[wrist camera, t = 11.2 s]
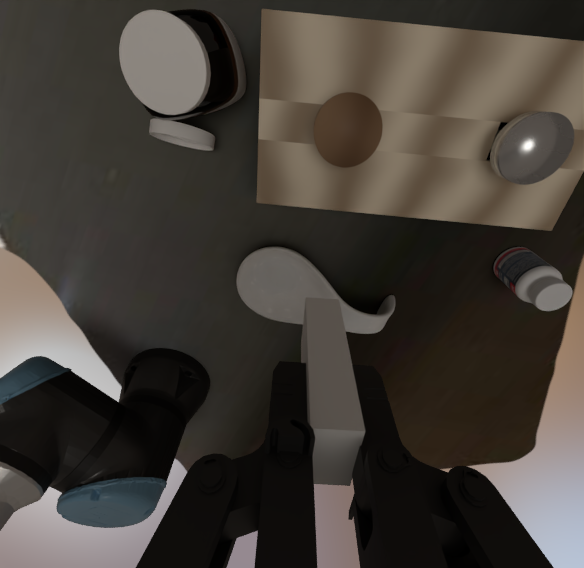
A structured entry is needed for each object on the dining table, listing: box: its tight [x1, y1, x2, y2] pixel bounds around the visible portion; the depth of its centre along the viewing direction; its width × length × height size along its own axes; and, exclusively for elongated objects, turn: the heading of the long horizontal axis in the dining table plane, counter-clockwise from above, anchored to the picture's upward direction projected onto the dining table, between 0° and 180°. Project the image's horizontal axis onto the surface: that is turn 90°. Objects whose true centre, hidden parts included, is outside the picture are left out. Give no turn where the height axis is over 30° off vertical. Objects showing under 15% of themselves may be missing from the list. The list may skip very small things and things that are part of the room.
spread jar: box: [119, 9, 246, 151], centre depth 31 cm, size 12×11×12 cm
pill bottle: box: [493, 247, 572, 311], centre depth 41 cm, size 5×5×9 cm
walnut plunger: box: [313, 92, 383, 168], centre depth 29 cm, size 5×5×14 cm
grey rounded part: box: [490, 111, 574, 185], centre depth 29 cm, size 5×5×14 cm
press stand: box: [257, 9, 584, 231], centre depth 31 cm, size 28×14×12 cm, turn 85°
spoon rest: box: [236, 247, 395, 334], centre depth 45 cm, size 24×12×7 cm, turn 73°
